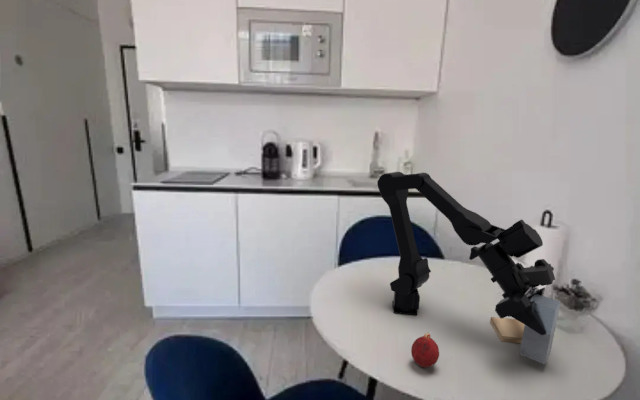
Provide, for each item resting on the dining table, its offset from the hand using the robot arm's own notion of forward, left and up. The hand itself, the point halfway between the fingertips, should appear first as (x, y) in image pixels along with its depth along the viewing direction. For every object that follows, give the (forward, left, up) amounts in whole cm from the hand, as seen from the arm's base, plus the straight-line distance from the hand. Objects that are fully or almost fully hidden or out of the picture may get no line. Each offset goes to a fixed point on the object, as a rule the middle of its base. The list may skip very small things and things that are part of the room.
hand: (547, 329), depth 81 cm
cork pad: (-1, +13, -9) cm, 16 cm away
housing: (-1, +1, -7) cm, 7 cm away
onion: (-26, -5, -9) cm, 28 cm away
